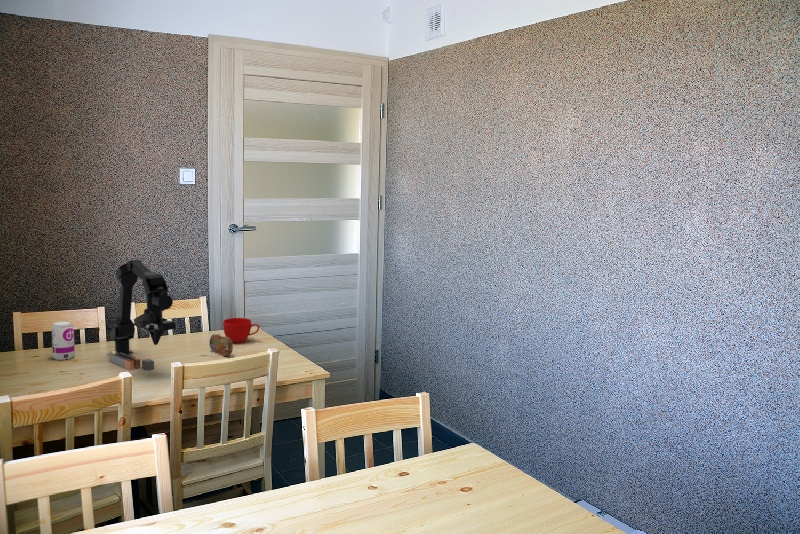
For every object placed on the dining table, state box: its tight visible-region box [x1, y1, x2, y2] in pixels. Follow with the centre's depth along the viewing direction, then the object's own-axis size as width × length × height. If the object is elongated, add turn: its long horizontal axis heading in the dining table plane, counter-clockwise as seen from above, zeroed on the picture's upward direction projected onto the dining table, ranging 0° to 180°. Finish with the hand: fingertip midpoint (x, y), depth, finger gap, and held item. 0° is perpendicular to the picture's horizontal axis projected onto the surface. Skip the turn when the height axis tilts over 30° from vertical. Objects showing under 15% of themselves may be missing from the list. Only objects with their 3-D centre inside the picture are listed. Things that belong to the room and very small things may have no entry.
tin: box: [209, 333, 234, 357], centre depth 298 cm, size 15×3×8 cm, turn 47°
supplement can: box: [51, 320, 76, 361], centre depth 283 cm, size 8×8×15 cm
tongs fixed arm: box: [109, 349, 135, 371], centre depth 278 cm, size 18×3×4 cm, turn 50°
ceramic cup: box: [222, 317, 260, 344], centre depth 319 cm, size 13×17×10 cm
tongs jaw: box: [117, 352, 141, 369], centre depth 278 cm, size 14×2×3 cm, turn 52°
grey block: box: [141, 358, 155, 371], centre depth 273 cm, size 4×3×3 cm
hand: (155, 344), depth 269 cm, fingers closed
